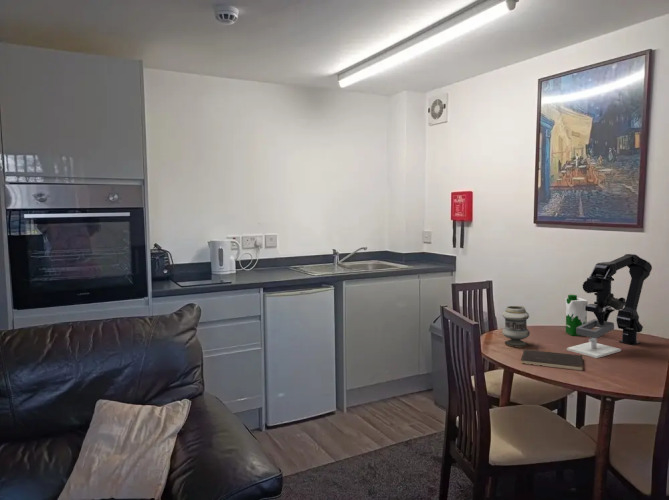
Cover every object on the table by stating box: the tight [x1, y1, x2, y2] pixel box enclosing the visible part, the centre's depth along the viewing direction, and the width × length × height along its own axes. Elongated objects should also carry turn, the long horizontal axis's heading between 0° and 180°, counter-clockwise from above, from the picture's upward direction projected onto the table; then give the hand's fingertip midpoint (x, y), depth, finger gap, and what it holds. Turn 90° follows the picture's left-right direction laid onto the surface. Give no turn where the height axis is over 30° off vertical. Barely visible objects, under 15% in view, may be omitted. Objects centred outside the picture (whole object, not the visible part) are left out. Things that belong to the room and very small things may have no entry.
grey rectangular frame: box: [576, 318, 615, 339], centre depth 210 cm, size 14×9×3 cm, turn 120°
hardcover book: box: [520, 349, 584, 371], centre depth 198 cm, size 16×23×2 cm
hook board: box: [566, 337, 622, 359], centre depth 211 cm, size 18×14×6 cm
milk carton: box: [565, 294, 589, 337], centre depth 238 cm, size 9×9×20 cm
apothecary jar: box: [502, 305, 531, 348], centre depth 223 cm, size 12×12×18 cm
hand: (602, 324), depth 213 cm, fingers closed on grey rectangular frame, 2 cm apart
